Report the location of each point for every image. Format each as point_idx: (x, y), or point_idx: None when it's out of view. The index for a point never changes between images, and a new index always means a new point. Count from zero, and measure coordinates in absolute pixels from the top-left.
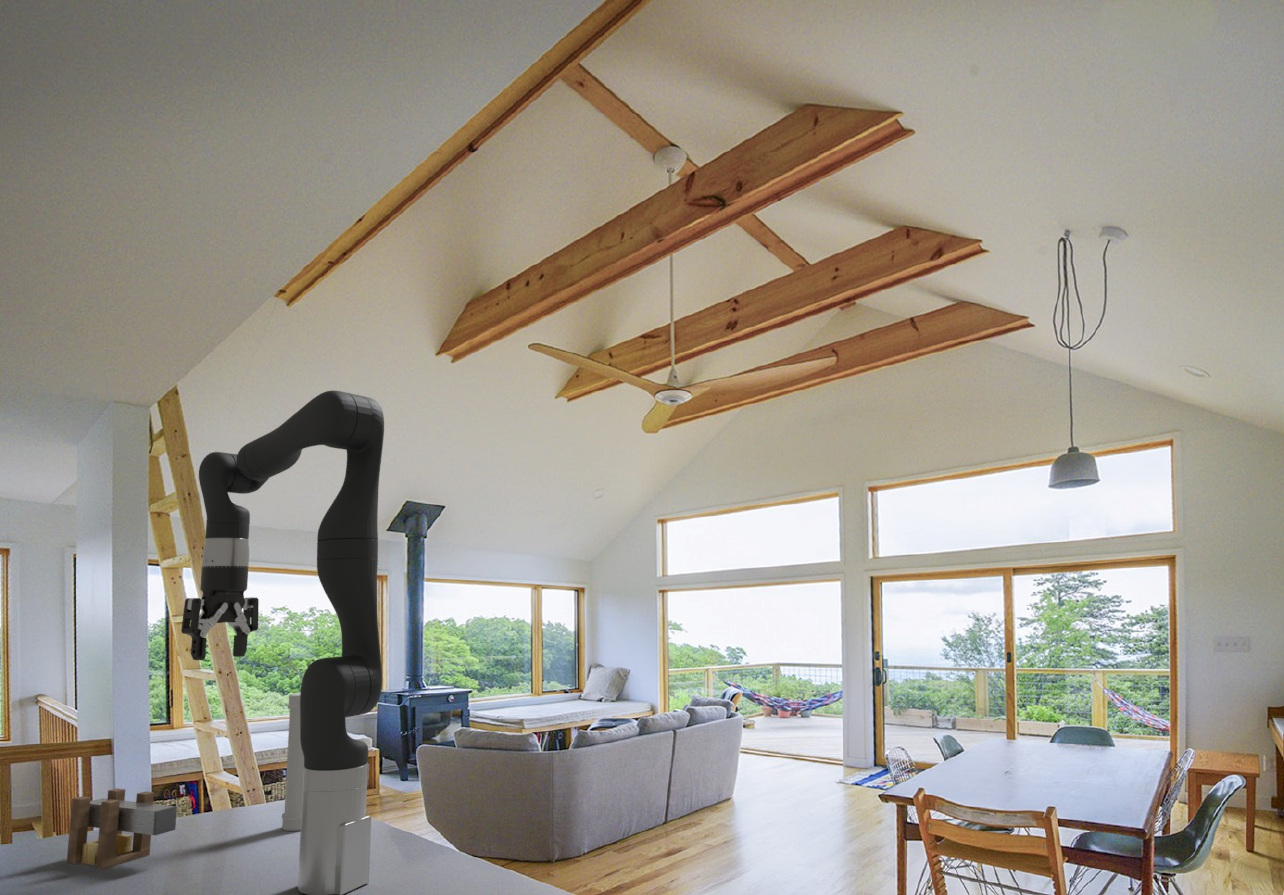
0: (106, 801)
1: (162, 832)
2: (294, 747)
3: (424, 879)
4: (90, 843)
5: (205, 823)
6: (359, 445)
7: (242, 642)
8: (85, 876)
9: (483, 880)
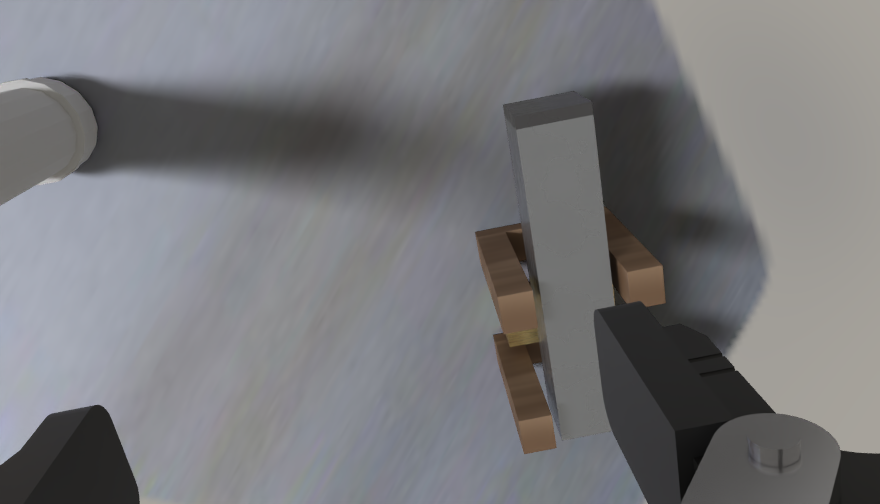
0: (654, 295)
1: (550, 96)
2: None
3: None
4: None
5: (210, 410)
6: None
7: (34, 496)
8: (664, 183)
9: None
